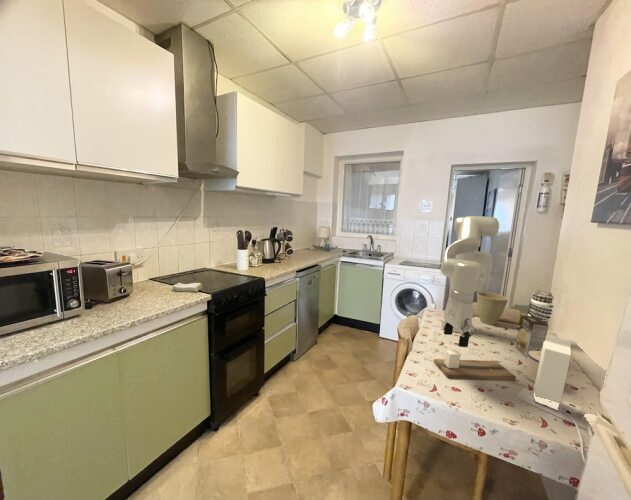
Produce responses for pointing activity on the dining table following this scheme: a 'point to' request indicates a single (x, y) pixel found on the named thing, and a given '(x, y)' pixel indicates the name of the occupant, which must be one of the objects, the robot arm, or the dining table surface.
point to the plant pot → (490, 307)
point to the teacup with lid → (532, 365)
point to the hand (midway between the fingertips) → (455, 340)
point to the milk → (552, 369)
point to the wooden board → (475, 370)
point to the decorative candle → (541, 305)
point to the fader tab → (452, 359)
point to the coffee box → (531, 334)
